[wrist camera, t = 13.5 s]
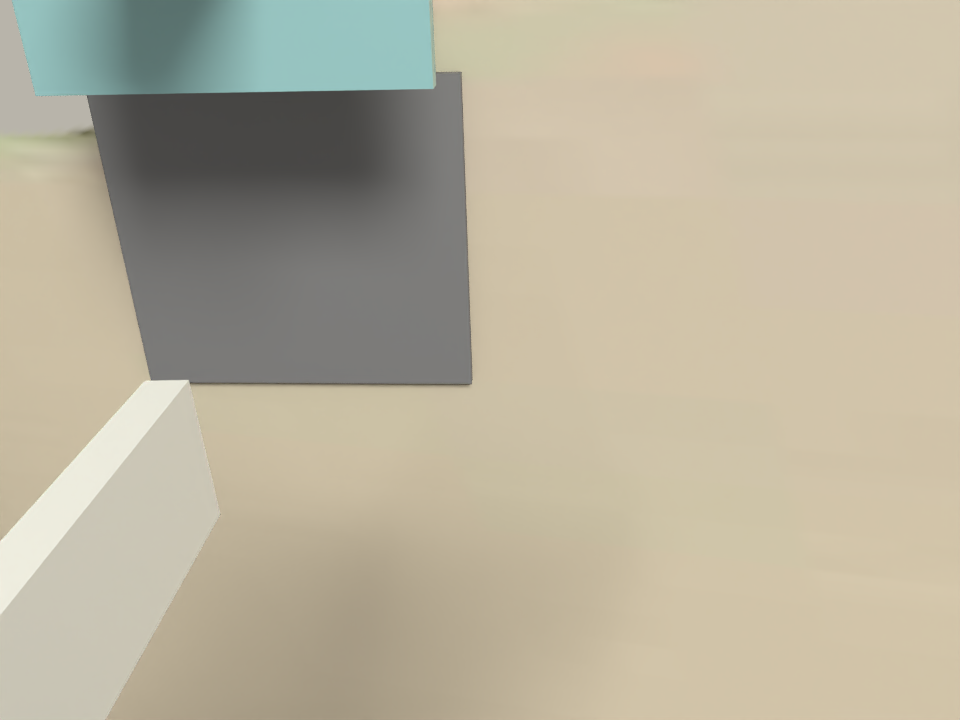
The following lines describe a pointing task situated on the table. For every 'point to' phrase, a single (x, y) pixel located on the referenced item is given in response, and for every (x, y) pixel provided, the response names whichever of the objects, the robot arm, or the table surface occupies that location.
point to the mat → (294, 232)
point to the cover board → (226, 45)
